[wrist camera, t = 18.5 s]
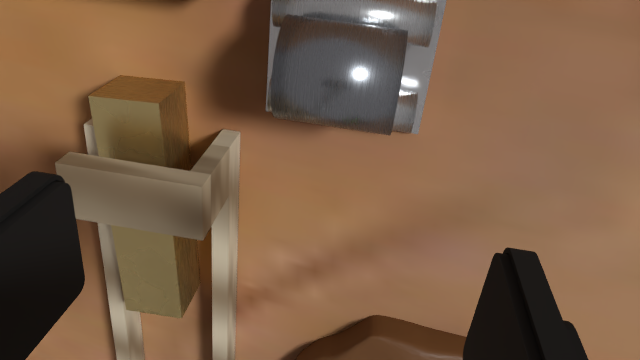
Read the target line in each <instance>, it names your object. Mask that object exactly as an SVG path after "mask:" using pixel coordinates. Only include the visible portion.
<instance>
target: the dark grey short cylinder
mask: <svg viewBox="0 0 640 360" xmlns="http://www.w3.org/2000/svg"><path fill="white" fill-rule="evenodd" d="M407 38H408V30H402V29H395V28H387V27H380V26H373V25H365V24H358V23H350V22H343V21H336V20H328V19H321V18H313V17H306V16H298V15H291V14H287V15H286V16H285V17H284V19H283V21H282V24H281V27H280V30H279V34H278V38H277V42H276V48H275V53H274V60H273V68H272V79H271V107H272V113H273V116H274V118H278V119H284V120H291V121H298V122H304V123H311V124H318V125H324V126H331V127H337V128H344V129H351V130H357V131H364V132H370V133H377V134H384V135H391V131H392V128H393V123H394V118H395V114H396V108H397V103H398V98H399V92H400V86H401V80H402V74H403V68H404V61H405V54H406V47H407Z"/></svg>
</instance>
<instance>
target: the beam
mask: <svg viewBox="0 0 640 360" xmlns="http://www.w3.org/2000/svg"><path fill="white" fill-rule="evenodd" d="M84 131H85V138H86V145H87V152H88V155H87V154H81V153H75V152H68V153H67V154H66V155H64V156H63V157H62V158H61V159H59V160H58V161H57V162H55V167H56V173H57V175H60V176H61V177H63V179H64V181H65V183H68V184H69V185H70V187H71V190H72V197H73V203H74V210H75V217H76V219H80V220H86V221H91V222H97V223H98V230H99V237H100V244H101V251H102V258H103V265H104V272H105V279H106V286H107V293H108V300H109V307H110V315H111V322H112V329H113V336H114V343H115V350H116V357H117V360H145V356H144V347H143V337H142V327H141V317H140V312H136V311H130V310H126V306H125V301H124V295H123V289H122V284H121V278H120V272H119V267H118V261H117V256H116V250H115V244H114V239H113V233H112V227H111V225H115V226H120V227H126V228H132V229H138V230H144V231H150V232H155V233H161V234H167V235H173V236H179V237H185V238H190V239H196V240H202V241H203V240H204V238H205V236H206V235H207V233H208V231H209V229H210V228H211V226H212V346H213V360H235V335H236V293H237V251H238V209H239V167H240V132H238V131H232V130H225V129H223V130H222V131H221V132H220V133H219V135H218V136H217V137H216V139H215V140H214V141H213V142H212V144H211V145H210V146H209V148H208V149H207V150H206V151H205V153H204V154H203V155H202V157H201V158H200V159H199V160H198V162H197V163H196V164H195V166H194V167H193V168H192V169H191V171H187V170H180V169H174V168H168V167H162V166H156V165H149V164H143V163H137V162H131V161H125V160H118V159H112V158H106V157H100V156H99V154H98V149H97V143H96V137H95V132H94V126H93V120H92V119H90V120H89V121H88V122H86V123H85V124H84Z"/></svg>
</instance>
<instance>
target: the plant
mask: <svg viewBox="0 0 640 360" xmlns="http://www.w3.org/2000/svg"><path fill="white" fill-rule="evenodd" d="M466 338H467V337H464V336H460V335H456V334H452V333H448V332H444V331H440V330H436V329H432V328H428V327H424V326H421V325H418V324H415V323H411V322H408V321H404V320H400V319H396V318H391V317H387V316H381V315H373V316H370V317H368V318H366V319H365V320H363V321H361V322H359V323H357V324H356V325H354V326H352V327H351V328H349V329H347V330H345V331H343V332H341V333H338V334H335V335H332V336H327V337H324V338H321V339H319V340H317V341H315V342H314V343H312V344H311V345H309V346H308V347H307V348H305V349H304V350H303V351H302V352H301V353H300V354H299V355H298V356H297V358H296V359H295V360H463V349H464V344H465V341H466Z"/></svg>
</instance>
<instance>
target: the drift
mask: <svg viewBox="0 0 640 360" xmlns="http://www.w3.org/2000/svg"><path fill="white" fill-rule="evenodd" d="M88 98H89V104H90V109H91V115H92V120H93V126H94V132H95V137H96V143H97V149H98V154H99V156H100V157H106V158H112V159H118V160H125V161H131V162H137V163H143V164H149V165H156V166H162V167H168V168H174V169H180V170H187V171H191V156H190V143H189V131H188V118H187V106H186V93H185V82H182V81H172V80H163V79H153V78H143V77H133V76H123V75H120V76H119V77H117V78H116V79H114V80H113V81H111V82H109V83H108V84H106V85H105V86H103V87H101V88H100V89H98V90H97V91H95V92H94V93H92V94H90V95H89V96H88ZM111 227H112V233H113V239H114V244H115V250H116V256H117V261H118V267H119V272H120V278H121V284H122V289H123V295H124V301H125V306H126V310H130V311H136V312H143V313H150V314H156V315H163V316H170V317H176V318H182V317H183V315H184V313H185V311H186V310H187V308H188V306H189V304H190V302H191V300H192V298H193V296H194V294H195V293H196V291H197V289H198V287H199V285H200V283H201V282H200V269H199V257H198V244H197V240H196V239H190V238H185V237H179V236H173V235H167V234H161V233H155V232H150V231H144V230H138V229H132V228H126V227H120V226H115V225H111Z"/></svg>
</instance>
